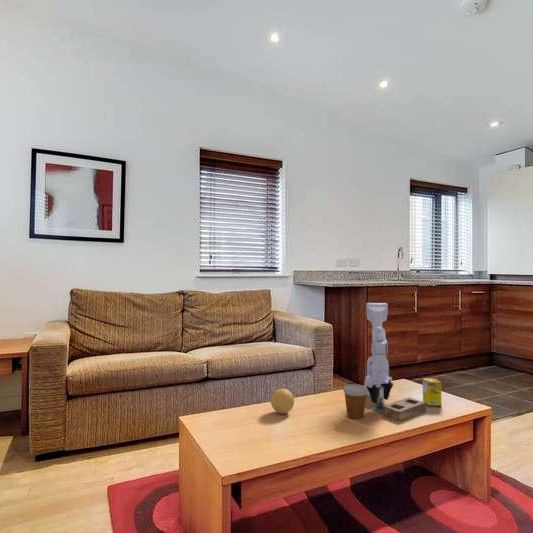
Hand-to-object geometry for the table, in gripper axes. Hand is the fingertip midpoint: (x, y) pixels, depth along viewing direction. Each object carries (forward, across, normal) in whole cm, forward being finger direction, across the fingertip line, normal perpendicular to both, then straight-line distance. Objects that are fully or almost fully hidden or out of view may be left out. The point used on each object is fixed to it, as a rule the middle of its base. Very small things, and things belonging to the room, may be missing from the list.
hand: (380, 400), depth 162 cm
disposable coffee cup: (+3, -16, 0) cm, 16 cm away
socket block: (+3, +3, -10) cm, 11 cm away
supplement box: (+3, +22, -11) cm, 25 cm away
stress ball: (+3, -37, +21) cm, 43 cm away
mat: (+3, 0, 0) cm, 3 cm away
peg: (+3, 0, 0) cm, 3 cm away
